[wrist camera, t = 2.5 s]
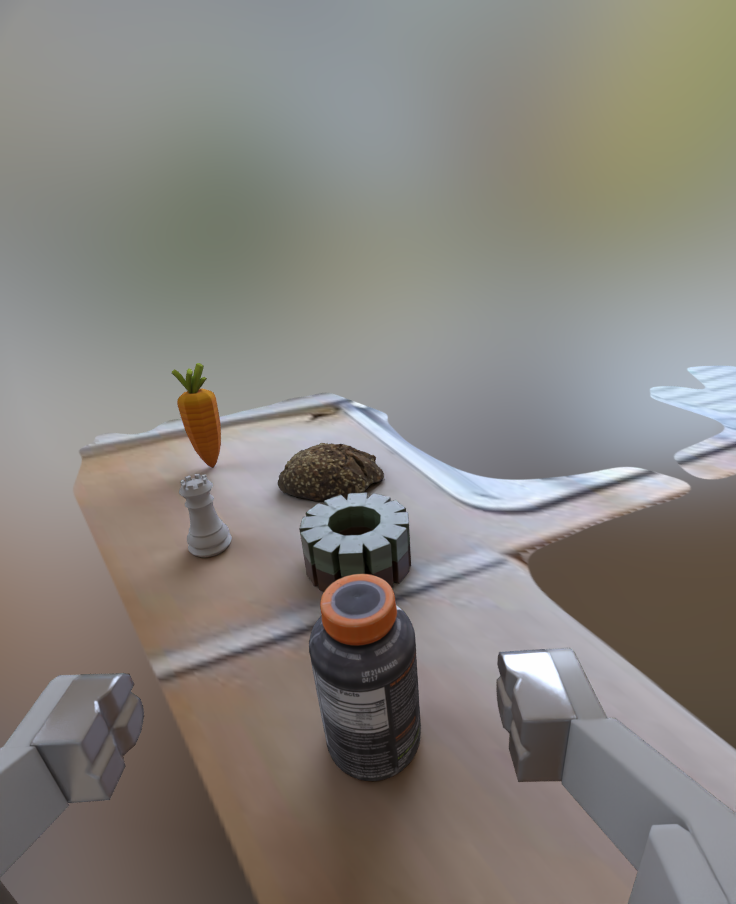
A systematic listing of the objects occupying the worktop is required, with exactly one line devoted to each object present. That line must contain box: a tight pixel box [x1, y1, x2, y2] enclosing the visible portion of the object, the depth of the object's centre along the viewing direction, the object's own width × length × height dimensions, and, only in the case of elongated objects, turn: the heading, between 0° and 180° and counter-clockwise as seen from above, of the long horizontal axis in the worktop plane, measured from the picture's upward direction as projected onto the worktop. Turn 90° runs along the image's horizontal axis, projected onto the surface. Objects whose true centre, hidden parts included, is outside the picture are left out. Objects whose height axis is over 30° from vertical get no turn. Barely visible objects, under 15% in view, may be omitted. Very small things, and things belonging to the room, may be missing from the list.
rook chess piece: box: [179, 474, 232, 557], centre depth 48 cm, size 4×4×8 cm
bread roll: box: [278, 443, 384, 501], centre depth 60 cm, size 13×12×5 cm
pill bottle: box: [309, 574, 421, 781], centre depth 27 cm, size 6×6×11 cm
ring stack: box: [299, 493, 411, 592], centre depth 44 cm, size 10×10×5 cm
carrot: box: [172, 363, 221, 468], centre depth 65 cm, size 5×5×15 cm
